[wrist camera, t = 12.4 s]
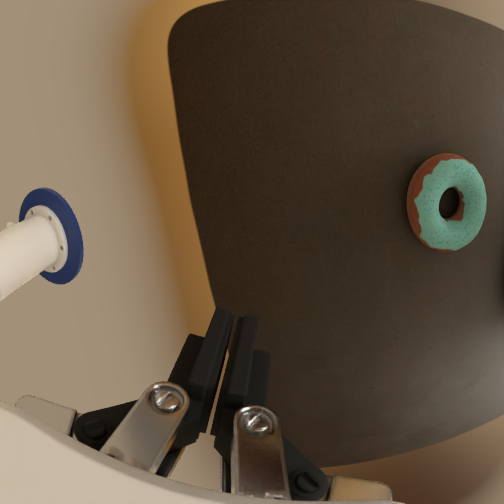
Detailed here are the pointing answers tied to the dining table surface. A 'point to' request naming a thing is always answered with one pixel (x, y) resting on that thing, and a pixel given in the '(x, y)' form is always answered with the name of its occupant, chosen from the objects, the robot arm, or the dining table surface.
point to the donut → (428, 196)
